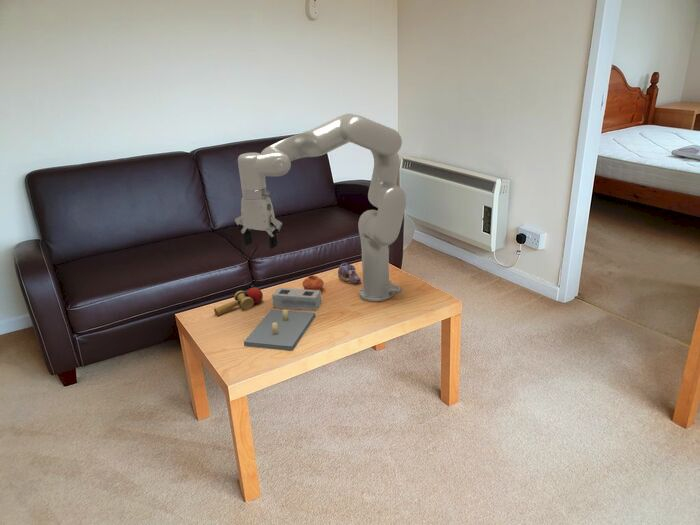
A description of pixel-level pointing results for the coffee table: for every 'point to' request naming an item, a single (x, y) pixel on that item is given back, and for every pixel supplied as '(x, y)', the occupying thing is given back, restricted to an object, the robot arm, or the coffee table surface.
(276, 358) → the coffee table surface
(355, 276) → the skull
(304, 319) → the pin board
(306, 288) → the pot
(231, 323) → the coffee table surface
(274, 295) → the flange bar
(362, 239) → the robot arm
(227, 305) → the kendama
